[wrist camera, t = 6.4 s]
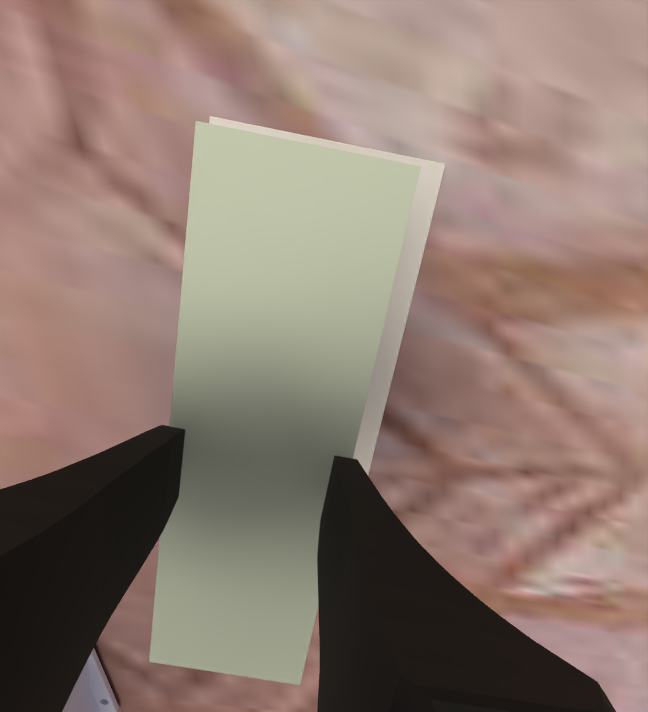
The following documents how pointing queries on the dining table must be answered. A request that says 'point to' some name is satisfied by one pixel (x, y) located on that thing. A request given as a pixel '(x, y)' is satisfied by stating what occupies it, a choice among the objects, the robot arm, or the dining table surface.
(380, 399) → the off-white flat rectangular panel
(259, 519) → the sage lintel
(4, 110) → the dining table surface
